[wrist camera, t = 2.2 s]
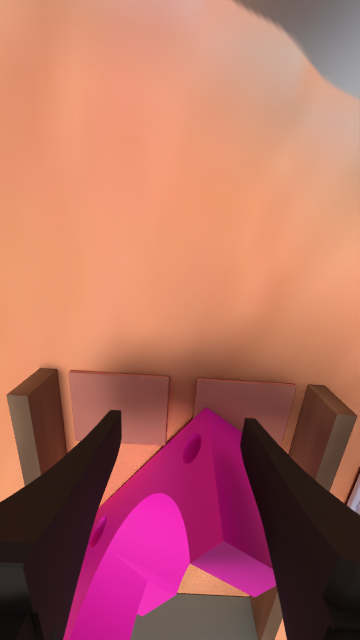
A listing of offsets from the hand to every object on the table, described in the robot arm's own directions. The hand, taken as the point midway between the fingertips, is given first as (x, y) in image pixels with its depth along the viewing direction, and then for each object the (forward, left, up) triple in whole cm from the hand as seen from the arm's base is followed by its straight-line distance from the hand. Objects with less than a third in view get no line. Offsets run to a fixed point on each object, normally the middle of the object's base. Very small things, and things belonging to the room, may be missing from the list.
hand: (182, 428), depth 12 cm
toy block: (0, +9, -3) cm, 9 cm away
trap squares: (0, +2, -3) cm, 4 cm away
